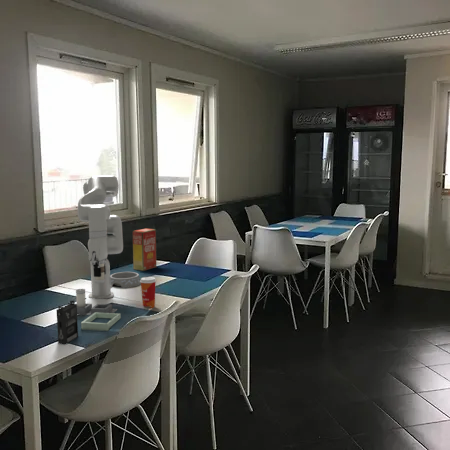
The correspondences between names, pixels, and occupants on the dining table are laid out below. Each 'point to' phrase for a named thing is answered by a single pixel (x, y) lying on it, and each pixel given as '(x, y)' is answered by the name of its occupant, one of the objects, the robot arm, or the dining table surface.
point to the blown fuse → (102, 278)
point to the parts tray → (100, 326)
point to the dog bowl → (125, 279)
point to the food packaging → (144, 249)
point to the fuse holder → (95, 309)
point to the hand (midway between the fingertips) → (99, 275)
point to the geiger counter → (67, 323)
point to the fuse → (80, 298)
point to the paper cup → (148, 291)
